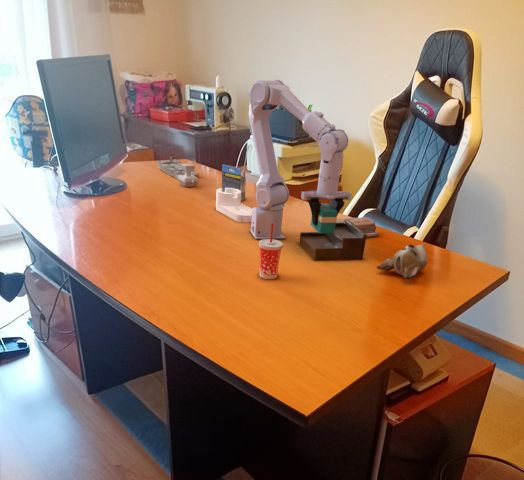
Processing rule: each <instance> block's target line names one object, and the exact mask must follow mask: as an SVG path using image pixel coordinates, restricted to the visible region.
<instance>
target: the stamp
mask: <svg viewBox="0 0 524 480" xmlns="http://www.w3.org/2000/svg"><path fill="white" fill-rule="evenodd" d="M180 165H181V168H182V170H184V171H185V175H178V176H177V178H176V180H177V182H178V183H179V184H180V185H182V186H183V187H185V188H189V187H195V186H197V184H198V183H199V182H200V180H199V177H197V175H195V176H193V175H191V171H193V172H195V169H196V167H195V165H194V164H191V163H184V164H180Z"/></svg>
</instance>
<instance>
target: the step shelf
mask: <svg viewBox="0 0 524 480" xmlns="http://www.w3.org/2000/svg"><path fill="white" fill-rule="evenodd" d="M344 219H345V220H344V222H337V223H336V225H335V231H334V233H329V234H320V233H319V232H318V231H302V232H301V231H300V232H299V242H298V243H299V245H300V246H301V247H302V248H303V249H304V250H305V251H306V253H307V254H308V255H309V256H310V257H311V259H313V260H314V261H339V260H340V261H348V260H349V261H350V260H351V261H352V260H363V258H364V252H365V248H366V243H367V238H368V237H367V234H365V233H364V232H363V231H362V230H360V229H359V228H358V227H357V226H355V225H354V224H353V223H352V222H350V221H349V220H348V219H346V218H344Z"/></svg>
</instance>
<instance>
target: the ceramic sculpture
mask: <svg viewBox="0 0 524 480" xmlns="http://www.w3.org/2000/svg"><path fill="white" fill-rule="evenodd" d="M428 262H429V260H428V254H427V250H426V247H425V244H424V243H422V244H419V245H414V244H408V245H405V247H403V248H401V249H399V250H397V251H396V252H395V254H394V255H393V256H392V257H389V258H386V259H385V260H383V261H382V262H381V263H380V264H379V265H377V266H376V269H378V270H381V271H383V272H389V271H392V270H393V271H394V272H395V273H396V274H398V275H399V276H402V278H403V279H405V280H413V279H414V278H415V277H416V276H417V275H418V273H419V272H422V271H423V270H424V269H425V268H426V267H427V265H428Z"/></svg>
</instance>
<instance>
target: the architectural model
mask: <svg viewBox="0 0 524 480" xmlns="http://www.w3.org/2000/svg"><path fill="white" fill-rule="evenodd" d="M180 164H185V163H183V162H182V161H179V160H177V158H175V159H174V158H173V157H172V156H170V157H169V159H168V160H160V159H159V160H156V166H157V169H159V170H161V171H162V172H164V173H166V174H167V175H168V176H171V177H173V178H175V179H177V176H178V175H185V171H184V170H182V168H181V165H180ZM198 174H199V172H197V171H191V175H193V176H197V175H198Z"/></svg>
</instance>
